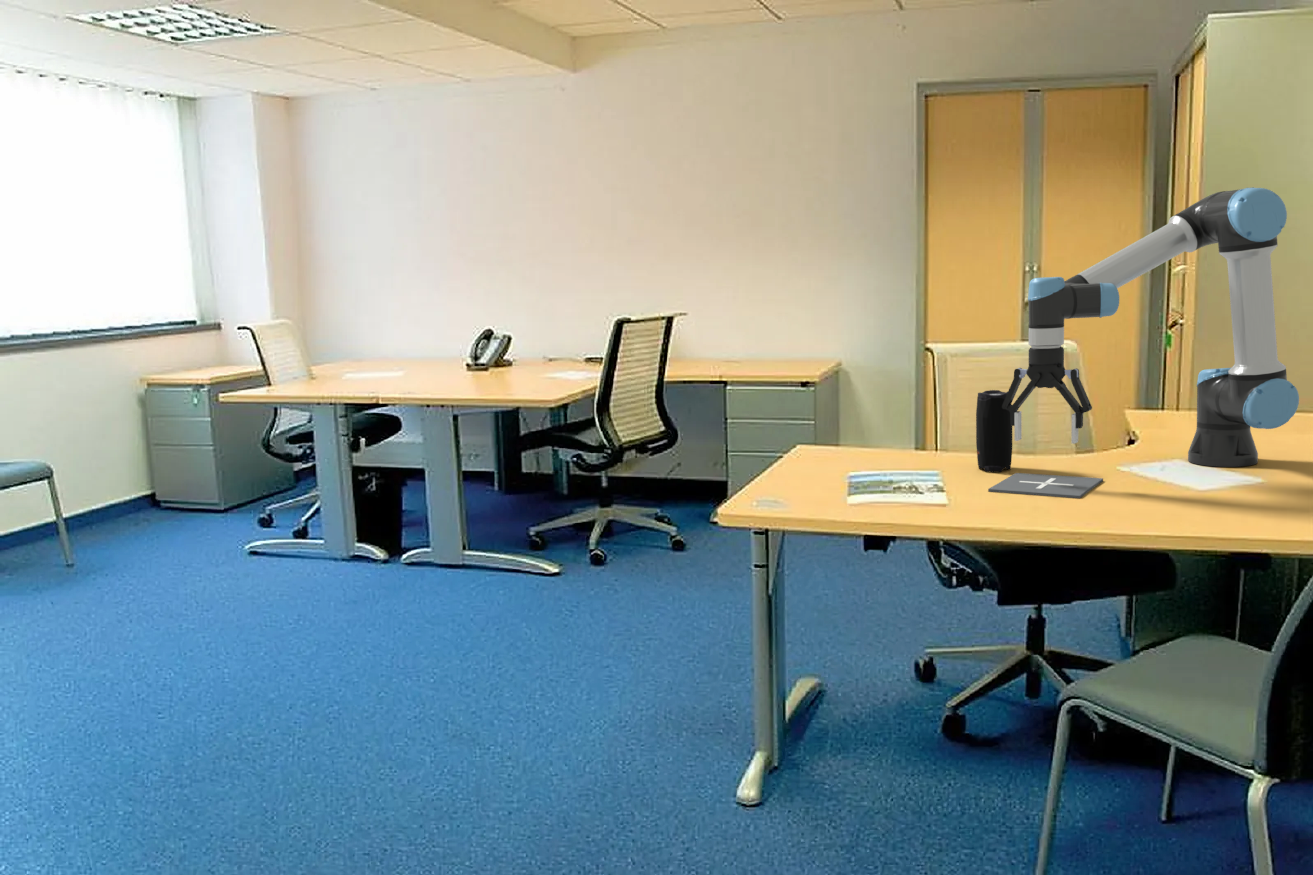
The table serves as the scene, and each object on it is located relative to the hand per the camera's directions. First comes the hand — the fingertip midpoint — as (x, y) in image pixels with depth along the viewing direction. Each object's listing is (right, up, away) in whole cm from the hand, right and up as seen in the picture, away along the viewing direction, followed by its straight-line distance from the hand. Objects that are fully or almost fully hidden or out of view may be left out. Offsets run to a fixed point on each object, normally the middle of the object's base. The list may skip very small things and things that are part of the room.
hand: (1046, 441), depth 248 cm
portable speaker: (-4, -7, +24) cm, 25 cm away
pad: (+1, -10, +2) cm, 10 cm away
